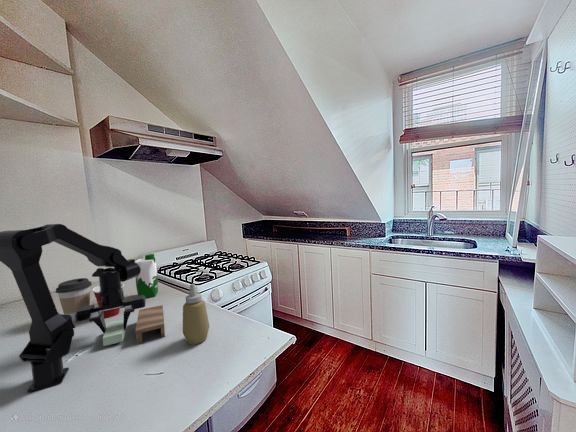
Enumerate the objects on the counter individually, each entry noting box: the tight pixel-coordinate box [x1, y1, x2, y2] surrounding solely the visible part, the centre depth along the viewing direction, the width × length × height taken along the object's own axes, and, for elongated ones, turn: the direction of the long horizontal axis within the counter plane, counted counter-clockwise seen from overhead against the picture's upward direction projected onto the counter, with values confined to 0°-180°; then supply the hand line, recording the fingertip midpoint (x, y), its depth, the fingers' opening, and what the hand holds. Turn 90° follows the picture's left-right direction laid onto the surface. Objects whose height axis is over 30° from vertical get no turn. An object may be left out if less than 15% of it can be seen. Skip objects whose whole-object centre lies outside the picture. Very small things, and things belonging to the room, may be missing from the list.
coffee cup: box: [55, 277, 93, 323], centre depth 103 cm, size 11×11×15 cm
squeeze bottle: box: [182, 283, 210, 345], centre depth 80 cm, size 8×8×18 cm
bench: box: [135, 304, 166, 345], centre depth 90 cm, size 18×8×5 cm, turn 27°
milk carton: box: [134, 253, 159, 299], centre depth 124 cm, size 9×9×20 cm
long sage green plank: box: [102, 318, 126, 347], centre depth 85 cm, size 12×5×3 cm, turn 27°
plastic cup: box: [91, 282, 125, 319], centre depth 104 cm, size 11×11×12 cm
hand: (115, 332), depth 85 cm, fingers closed on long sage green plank, 5 cm apart
